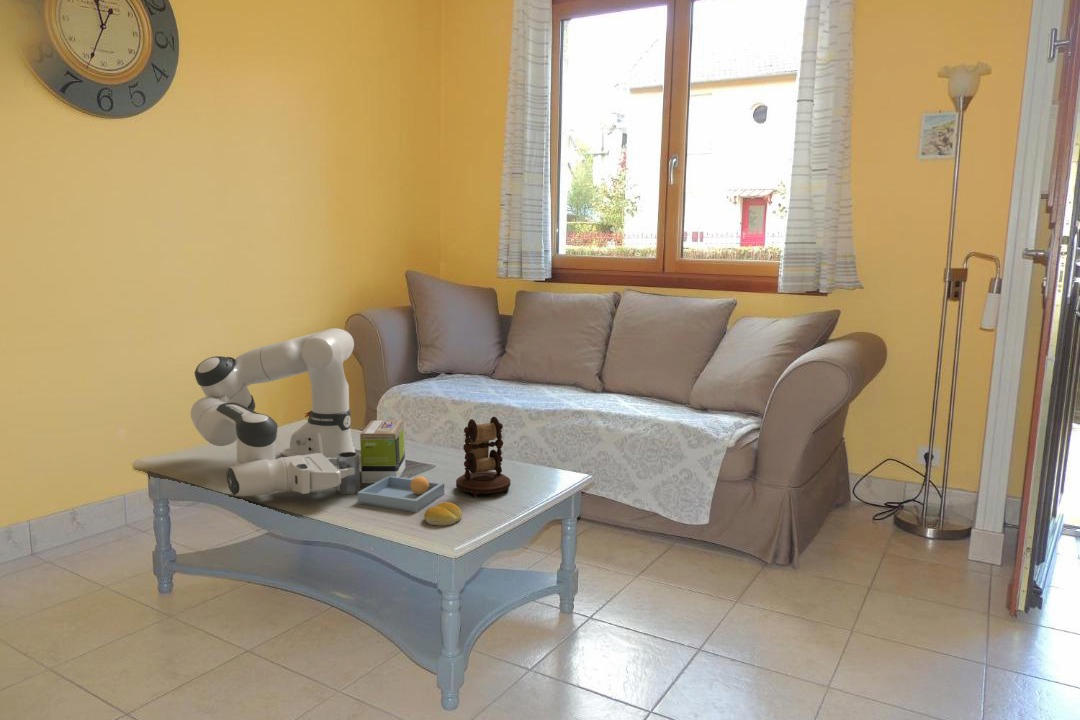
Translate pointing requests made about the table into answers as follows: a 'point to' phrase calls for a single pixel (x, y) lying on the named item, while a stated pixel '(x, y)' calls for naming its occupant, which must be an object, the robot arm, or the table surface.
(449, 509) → the bread roll
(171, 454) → the table surface
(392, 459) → the tea box
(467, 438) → the wooden spool stand
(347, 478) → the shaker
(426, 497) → the tray
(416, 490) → the ball
